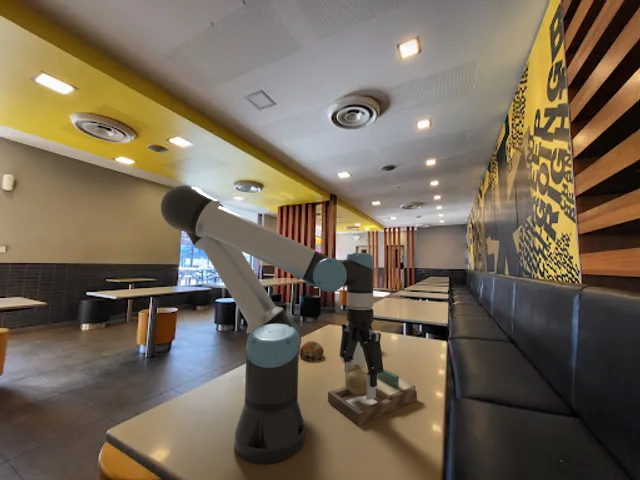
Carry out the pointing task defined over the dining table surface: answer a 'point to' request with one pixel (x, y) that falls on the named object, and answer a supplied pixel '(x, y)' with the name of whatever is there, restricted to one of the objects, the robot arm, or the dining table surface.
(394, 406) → the brown sliding lid box
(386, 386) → the cover
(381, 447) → the dining table surface
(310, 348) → the bread roll
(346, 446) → the dining table surface
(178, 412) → the dining table surface
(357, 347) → the mug
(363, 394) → the onion
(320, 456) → the dining table surface
